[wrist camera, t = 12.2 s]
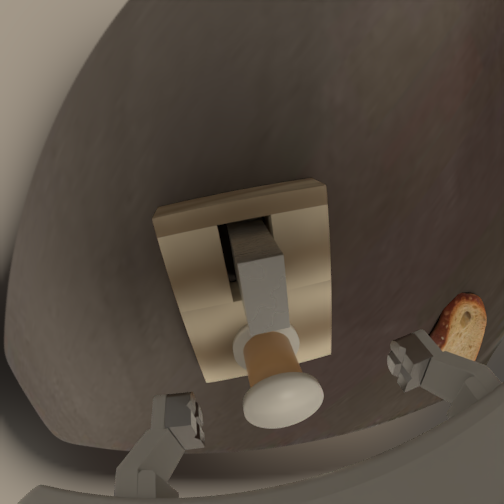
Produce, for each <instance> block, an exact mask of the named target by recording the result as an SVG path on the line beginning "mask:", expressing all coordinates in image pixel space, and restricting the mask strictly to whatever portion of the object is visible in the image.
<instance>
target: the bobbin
mask: <svg viewBox="0 0 504 504" xmlns="http://www.w3.org/2000/svg"><path fill="white" fill-rule="evenodd" d="M299 343H300V342H299V337H298V335H297V333H296V331H295V329H294V327H293V326H292V325H291V324H290V327H289V328H285V329H280V330H276V331H271V332H267V333H262V334H257V335H252V336H250V332H249V328H248V324H246V325H245V326H244V327H242V328H241V329H240V330H239V331H238V333H237V334H236V336H235V337H234V340H233V347H232V348H233V353H234V358H235V360H236V362H237V363H238V364H239V365H240V366H241V367H242V368H244V369H246V370H247V374H248V378H249V383H250V389H249V390H248V391H247V393H246V394H245V396H244V398H243V409H244V415H245V418H246V419H247V420H248V421H249V422H250V423H251V424H253V425H255V426H258V427H262V428H282V427H287V426H291V425H294V424H296V423H299V422H301V421H303V420H305V419H306V418H308V417H310V416H311V415H312V414H313V413H314V412H316V411H317V409H318V408H319V407H320V406H321V404H322V402H323V398H324V394H323V391H322V388H321V386H320V384H319V382H318V380H317V379H316V378H315V377H313V376H311V375H309V374H306V373H302V370H301V368H300V365H299V363H298V361H297V358H296V356H295V355H296V354H297V352H298V349H299Z"/></svg>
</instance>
